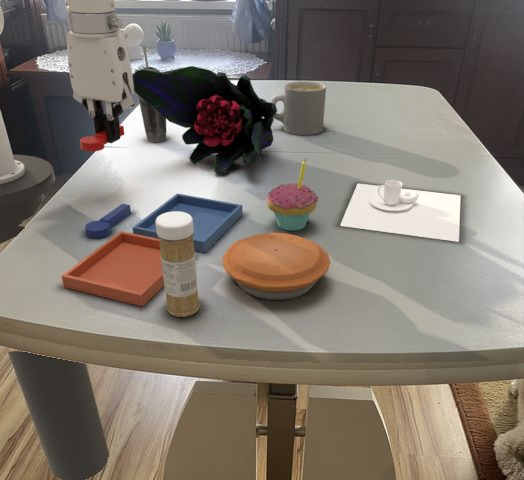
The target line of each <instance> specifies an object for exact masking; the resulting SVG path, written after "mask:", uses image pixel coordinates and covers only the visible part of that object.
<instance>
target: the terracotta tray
mask: <svg viewBox="0 0 524 480" xmlns="http://www.w3.org/2000/svg"><path fill="white" fill-rule="evenodd" d="M61 280H62V285H63V287H64V288H66V289H70V290H74V291H78V292H82V293H86V294H90V295H95V296H98V297H102V298H107V299H109V300H114V301H119V302H123V303H128V304H130V305H134V306H138V307H144V306H146V304H147V303H148V302H150V300H151V299H153V297H154V296H155V295H157V294H158V292H160V291H161V290H162V289H163V288H164V279H163V271H162V263H161V252H160V243H159V239H156V238H151V237H146V236H142V235H137V234H133V232H127V231H123V230H120V231H119V232H118V233H116V234H115V235H114V236H112V237H111V238H110V239H108V240H107V241H106V242H104V243H103V244H102V245H100V246H99V247H97V248H96V249H95V250H94V251H92V252H91V253H90V254H88V255H87V256H86V257H84V258H83V259H82V260H81V261H79V262H78V263H76V264H75V265H73V267H71V268H69V269H68V270H67V271H66V272H64V273H63V274H62V275H61Z"/></svg>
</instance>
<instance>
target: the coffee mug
mask: <svg viewBox="0 0 524 480" xmlns="http://www.w3.org/2000/svg"><path fill="white" fill-rule="evenodd" d="M326 93H327V85H325V84H324V83H322V82H318V81H311V80H295V81H291V82H287V83H286V84H284V93H277V94H275V95H272V97H271V99H270V103H273V104H275V105H276V106H277V103H278V102H280V101H281V102H282V104H283V108H282V111H281V112H280V113H278V112H276V113H275V115H274V117H273V119H274V120H275V121H278V122H280V123H282V124H283V131H284V132H286V133H288V134H292V135H298V136H311V135H316V134H317V135H318V134H319V133H321V132H323V131H324V121H325V106H326Z"/></svg>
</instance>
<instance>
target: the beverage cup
mask: <svg viewBox="0 0 524 480" xmlns="http://www.w3.org/2000/svg"><path fill="white" fill-rule="evenodd" d="M142 51H143V55H144V61H145V67H143V68H141V69H142V70H150V71H157V72H161V71H160V70H159V69H158V68H156V67H153V66H149V62H148V56H147V49H146V45H142ZM136 96H137V98H138V103H139V108H140V113H141V118H142V122H143V127H144V133H145V136H146V140H147V142H150V143H162V142H164V141H166V140H167V119H166V118H165V117H164V116H163V115H162V114H161V113H160V112H159V111H158V110H156V109H155V108H154V107H153V106H152V105H150V104H149V103H148V102H146V101H145V100H143V99H142V98H141V97H140V96H139V95H138V94H137V93H136Z"/></svg>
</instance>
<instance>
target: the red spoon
mask: <svg viewBox="0 0 524 480" xmlns="http://www.w3.org/2000/svg"><path fill="white" fill-rule="evenodd" d="M119 125H120V124H119ZM123 136H125V127H124V125H120V138H121V137H123ZM79 144H80V149H81V150H82V151H85V152H100V151H103V150H104V149H105V145H106V144H109V143H108V140H107V134H106V130H104V131H102V132H99V133H97V134H96V133H95V134H93V135H88V136H84V137H81V138H80V139H79Z"/></svg>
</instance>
